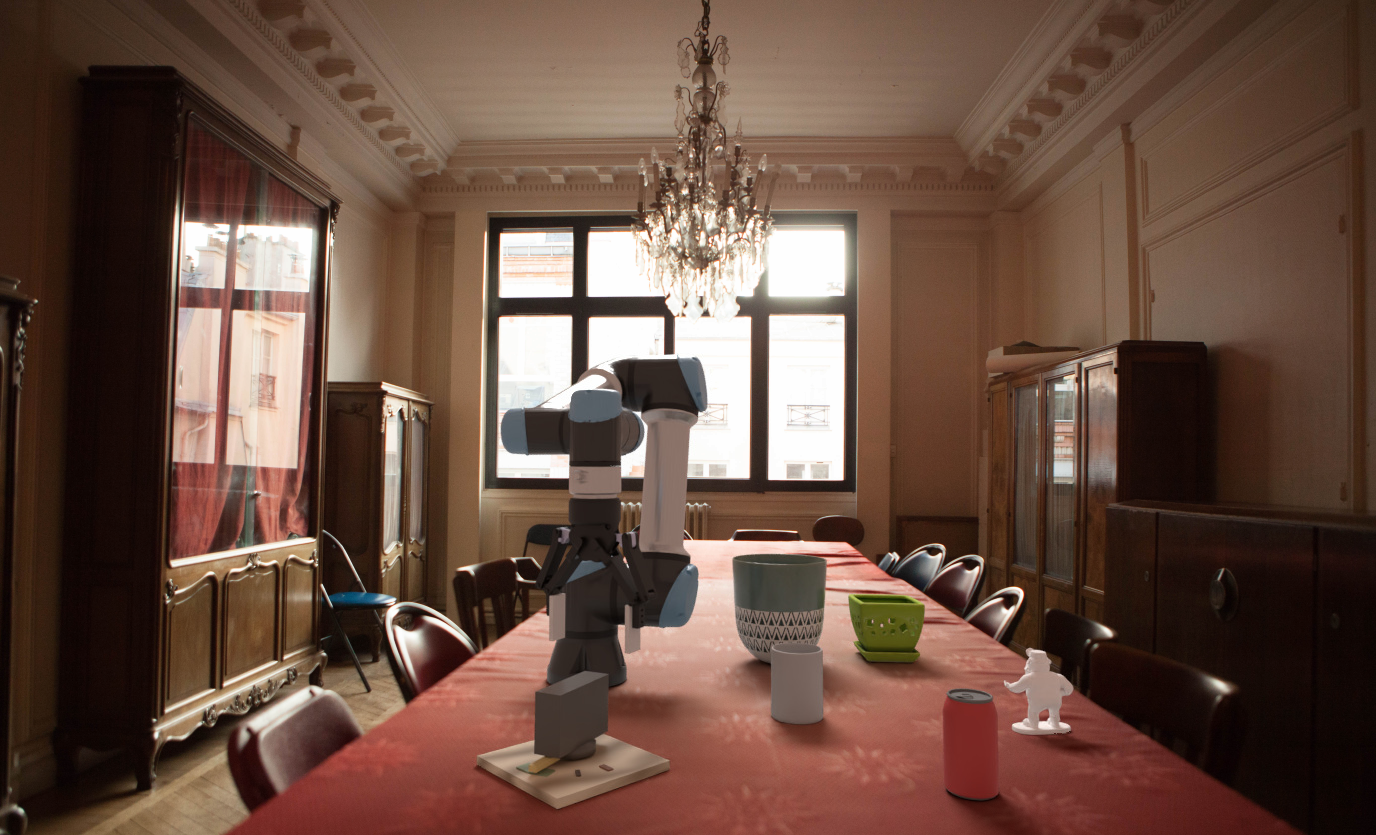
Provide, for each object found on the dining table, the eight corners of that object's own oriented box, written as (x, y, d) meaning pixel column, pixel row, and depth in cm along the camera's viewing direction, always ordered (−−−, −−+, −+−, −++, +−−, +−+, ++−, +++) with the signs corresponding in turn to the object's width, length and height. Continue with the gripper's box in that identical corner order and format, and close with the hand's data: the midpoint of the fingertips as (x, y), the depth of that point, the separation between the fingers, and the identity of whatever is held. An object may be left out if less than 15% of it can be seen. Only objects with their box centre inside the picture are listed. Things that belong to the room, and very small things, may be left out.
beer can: (935, 781, 101) (934, 687, 102) (984, 780, 102) (982, 686, 103) (956, 803, 95) (955, 702, 96) (1009, 802, 95) (1007, 701, 96)
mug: (828, 724, 124) (827, 654, 125) (774, 724, 124) (774, 654, 125) (814, 702, 136) (814, 638, 137) (765, 702, 136) (765, 637, 137)
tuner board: (476, 764, 106) (476, 754, 106) (584, 734, 119) (584, 724, 119) (557, 809, 92) (557, 797, 92) (669, 769, 105) (669, 758, 105)
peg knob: (577, 734, 114) (578, 669, 115) (614, 741, 111) (615, 675, 112) (512, 769, 101) (513, 696, 101) (553, 778, 98) (554, 702, 98)
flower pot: (927, 666, 162) (926, 603, 163) (859, 665, 162) (859, 603, 163) (909, 650, 176) (908, 593, 177) (846, 650, 176) (846, 592, 177)
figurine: (1054, 721, 127) (1052, 645, 127) (1079, 734, 120) (1077, 655, 121) (1001, 723, 125) (1000, 647, 126) (1024, 737, 119) (1022, 656, 120)
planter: (765, 678, 151) (765, 566, 152) (714, 656, 169) (715, 556, 170) (846, 667, 160) (846, 561, 162) (791, 647, 178) (790, 552, 179)
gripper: (512, 494, 116) (510, 639, 115) (652, 500, 103) (651, 663, 102) (546, 492, 123) (544, 629, 122) (682, 497, 110) (681, 651, 109)
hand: (593, 645), depth 112 cm, fingers open, 13 cm apart
